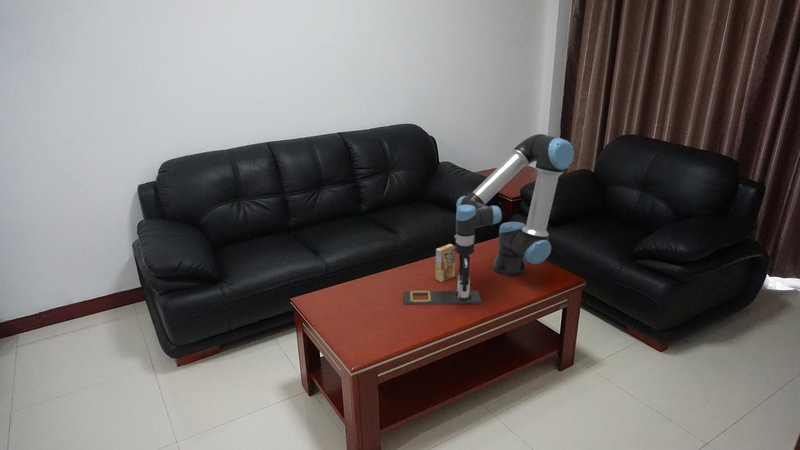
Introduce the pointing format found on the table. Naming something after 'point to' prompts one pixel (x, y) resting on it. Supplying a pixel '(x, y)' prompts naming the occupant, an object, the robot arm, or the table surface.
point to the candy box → (445, 262)
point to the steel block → (460, 289)
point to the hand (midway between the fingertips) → (463, 293)
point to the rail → (440, 297)
